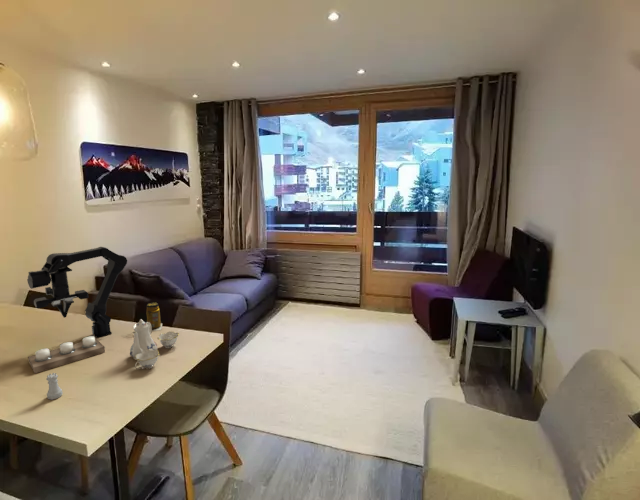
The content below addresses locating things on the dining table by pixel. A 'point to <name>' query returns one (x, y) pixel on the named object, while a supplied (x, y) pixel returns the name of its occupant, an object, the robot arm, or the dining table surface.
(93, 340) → the knob
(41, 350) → the knob
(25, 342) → the dining table surface
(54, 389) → the rook chess piece
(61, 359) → the knob rail
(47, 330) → the dining table surface
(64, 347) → the knob mid
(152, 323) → the condiment
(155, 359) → the chinaware
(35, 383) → the dining table surface
